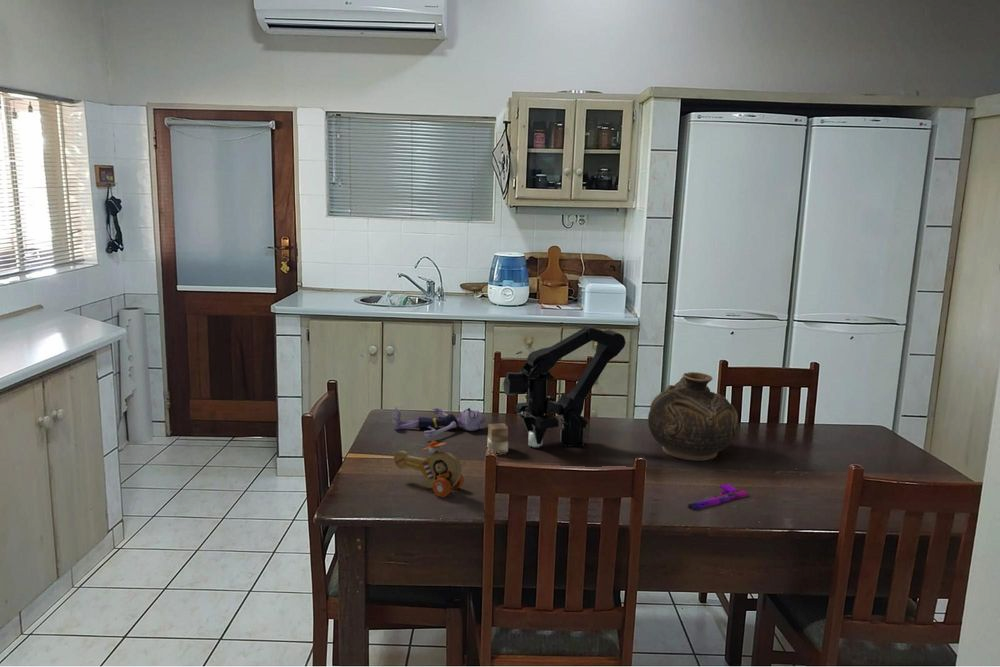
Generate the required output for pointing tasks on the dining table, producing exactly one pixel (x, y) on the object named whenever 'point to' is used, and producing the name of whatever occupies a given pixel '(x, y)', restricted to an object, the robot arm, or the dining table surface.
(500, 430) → the top block
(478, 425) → the toy
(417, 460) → the toy helicopter
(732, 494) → the handgun
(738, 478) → the dining table surface
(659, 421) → the vessel
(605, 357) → the robot arm
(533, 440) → the grey rounded cylinder
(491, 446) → the base block
